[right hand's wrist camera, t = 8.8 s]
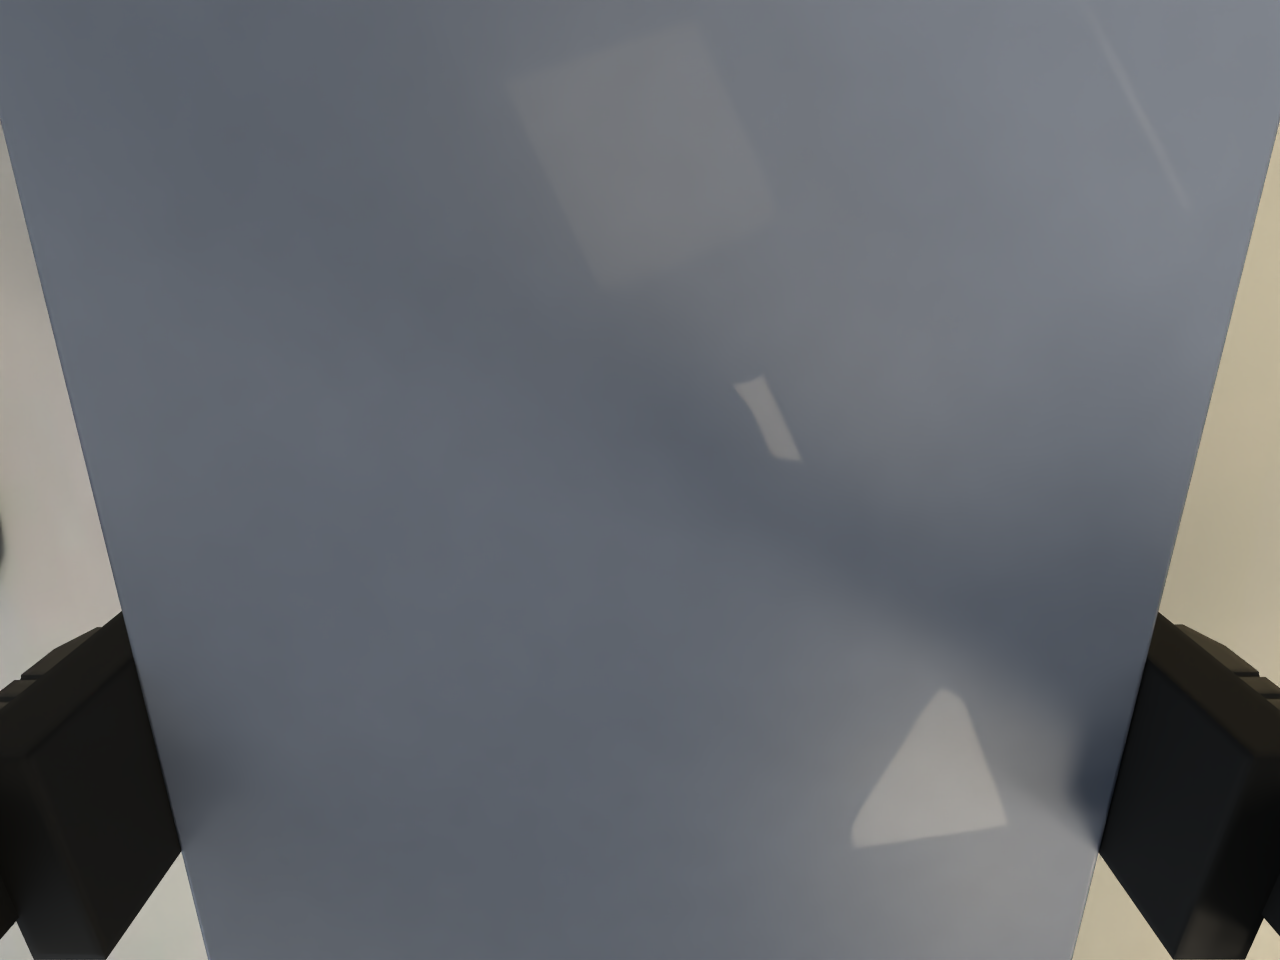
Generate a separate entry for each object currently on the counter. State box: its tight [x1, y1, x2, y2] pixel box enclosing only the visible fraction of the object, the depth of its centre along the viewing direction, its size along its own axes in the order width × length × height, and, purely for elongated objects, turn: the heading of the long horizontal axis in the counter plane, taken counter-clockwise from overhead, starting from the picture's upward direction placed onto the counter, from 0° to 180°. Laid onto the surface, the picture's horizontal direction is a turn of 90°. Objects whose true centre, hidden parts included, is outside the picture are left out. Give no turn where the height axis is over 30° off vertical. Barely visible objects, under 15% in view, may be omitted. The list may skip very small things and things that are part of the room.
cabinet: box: [0, 0, 1280, 960], centre depth 12 cm, size 16×11×11 cm
